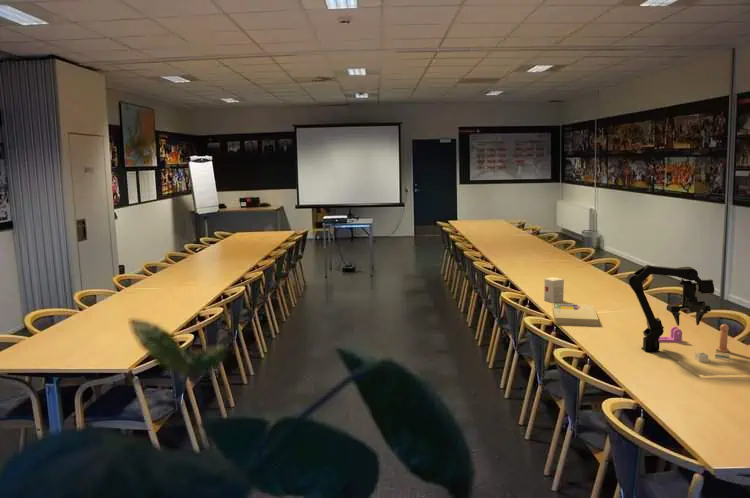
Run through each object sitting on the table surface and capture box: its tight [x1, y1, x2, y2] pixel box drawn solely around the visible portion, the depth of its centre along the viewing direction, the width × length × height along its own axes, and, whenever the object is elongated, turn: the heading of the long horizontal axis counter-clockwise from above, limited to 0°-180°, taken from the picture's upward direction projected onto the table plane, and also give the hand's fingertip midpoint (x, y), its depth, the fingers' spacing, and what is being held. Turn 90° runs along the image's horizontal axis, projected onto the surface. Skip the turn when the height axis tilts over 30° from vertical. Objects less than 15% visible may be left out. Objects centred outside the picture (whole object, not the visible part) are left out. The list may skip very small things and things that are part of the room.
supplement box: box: [543, 276, 565, 304], centre depth 419 cm, size 9×9×15 cm
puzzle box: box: [552, 303, 600, 327], centre depth 378 cm, size 36×5×24 cm
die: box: [694, 352, 709, 363], centre depth 294 cm, size 4×4×4 cm
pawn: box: [717, 323, 730, 353], centre depth 305 cm, size 5×5×13 cm
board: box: [714, 348, 731, 362], centre depth 300 cm, size 20×6×1 cm, turn 150°
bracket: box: [659, 325, 683, 343], centre depth 328 cm, size 13×6×7 cm, turn 83°
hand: (687, 325), depth 308 cm, fingers open, 9 cm apart
